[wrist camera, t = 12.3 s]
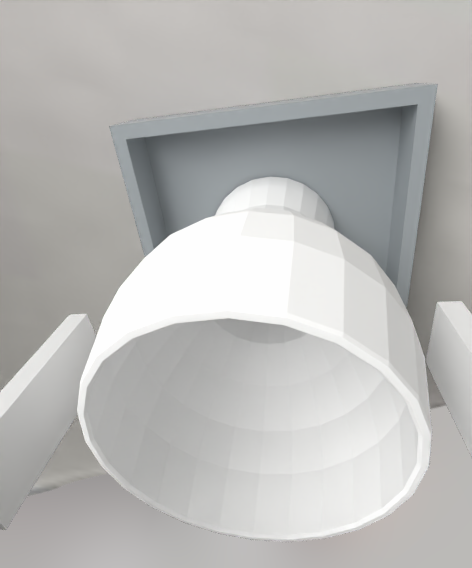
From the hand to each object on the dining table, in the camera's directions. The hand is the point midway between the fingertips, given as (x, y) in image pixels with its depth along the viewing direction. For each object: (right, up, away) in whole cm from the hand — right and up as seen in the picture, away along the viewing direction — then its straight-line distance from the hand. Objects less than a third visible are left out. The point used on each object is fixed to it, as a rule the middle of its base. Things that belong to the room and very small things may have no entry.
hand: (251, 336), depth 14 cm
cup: (+2, +5, +9) cm, 10 cm away
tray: (+2, +5, +9) cm, 11 cm away
